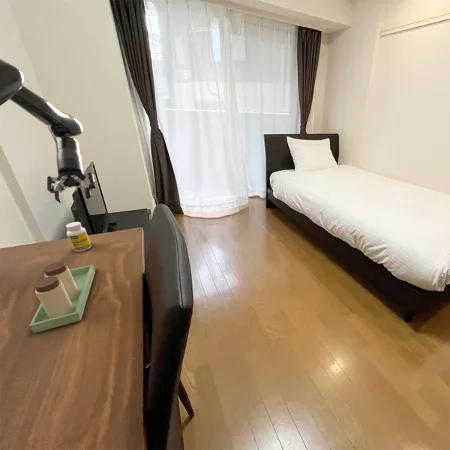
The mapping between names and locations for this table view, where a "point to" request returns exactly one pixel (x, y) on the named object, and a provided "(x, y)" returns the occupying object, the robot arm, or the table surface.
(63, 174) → the robot arm
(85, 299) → the tray
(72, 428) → the table surface
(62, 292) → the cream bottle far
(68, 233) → the supplement bottle
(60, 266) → the cream bottle middle
